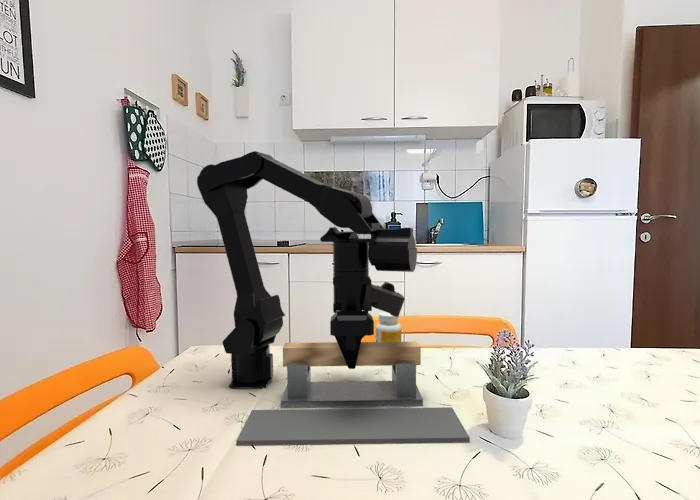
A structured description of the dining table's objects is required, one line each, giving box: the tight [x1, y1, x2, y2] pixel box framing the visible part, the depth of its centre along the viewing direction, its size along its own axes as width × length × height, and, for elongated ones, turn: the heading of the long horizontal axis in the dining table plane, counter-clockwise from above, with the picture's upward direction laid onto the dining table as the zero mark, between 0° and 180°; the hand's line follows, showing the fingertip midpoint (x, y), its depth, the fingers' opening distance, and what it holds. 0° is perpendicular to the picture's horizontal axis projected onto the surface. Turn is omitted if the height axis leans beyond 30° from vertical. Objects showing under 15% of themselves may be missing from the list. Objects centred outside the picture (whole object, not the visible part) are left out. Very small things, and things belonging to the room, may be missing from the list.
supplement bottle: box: [375, 311, 402, 342], centre depth 88 cm, size 5×5×10 cm
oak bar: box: [282, 341, 422, 368], centre depth 68 cm, size 22×3×3 cm, turn 91°
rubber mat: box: [235, 406, 471, 446], centre depth 58 cm, size 30×9×1 cm, turn 91°
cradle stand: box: [280, 361, 424, 409], centre depth 69 cm, size 22×8×6 cm, turn 91°
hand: (351, 365), depth 69 cm, fingers closed on oak bar, 3 cm apart
